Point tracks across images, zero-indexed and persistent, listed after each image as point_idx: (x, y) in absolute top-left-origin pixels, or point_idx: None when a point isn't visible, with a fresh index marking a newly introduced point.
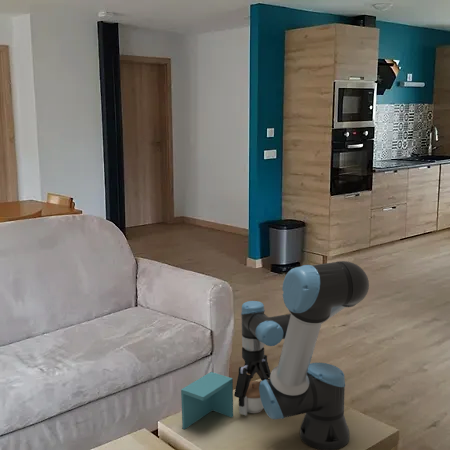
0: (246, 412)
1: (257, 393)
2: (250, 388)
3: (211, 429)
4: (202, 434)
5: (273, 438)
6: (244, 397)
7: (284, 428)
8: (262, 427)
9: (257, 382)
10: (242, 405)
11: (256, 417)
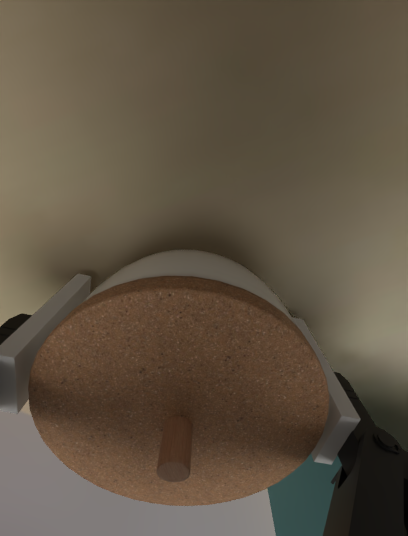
0: (303, 327)
1: (284, 365)
2: (207, 439)
3: None
4: None
5: None
6: (374, 429)
7: (377, 26)
8: (385, 192)
9: (64, 425)
10: (346, 381)
11: (276, 264)
